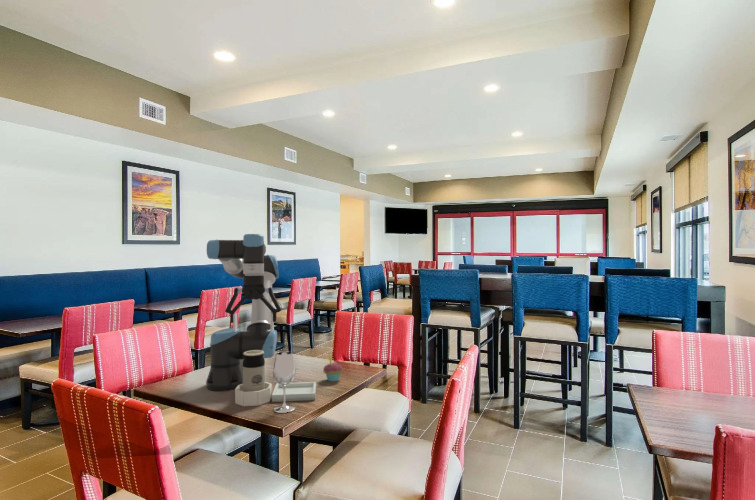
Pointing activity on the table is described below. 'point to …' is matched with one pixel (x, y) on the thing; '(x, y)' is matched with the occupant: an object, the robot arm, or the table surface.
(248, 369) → the travel mug
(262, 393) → the holder
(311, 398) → the tray
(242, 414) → the table surface
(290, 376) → the wineglass
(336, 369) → the cupcake
